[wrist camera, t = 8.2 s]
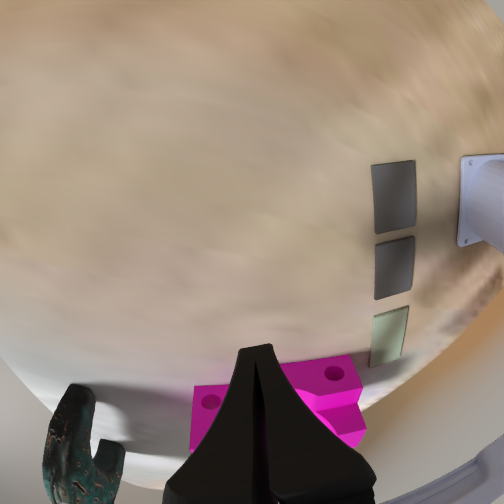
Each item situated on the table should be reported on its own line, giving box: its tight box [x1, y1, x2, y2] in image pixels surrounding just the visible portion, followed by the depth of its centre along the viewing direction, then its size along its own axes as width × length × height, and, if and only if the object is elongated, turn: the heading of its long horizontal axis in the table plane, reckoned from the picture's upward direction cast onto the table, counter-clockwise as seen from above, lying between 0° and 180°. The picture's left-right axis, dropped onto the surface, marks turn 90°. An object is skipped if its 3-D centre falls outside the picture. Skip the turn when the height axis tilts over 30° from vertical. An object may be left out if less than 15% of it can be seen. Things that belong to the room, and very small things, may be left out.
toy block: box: [189, 354, 367, 453], centre depth 23 cm, size 15×6×8 cm, turn 93°
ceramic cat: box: [42, 384, 126, 504], centre depth 21 cm, size 20×6×20 cm, turn 173°
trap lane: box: [369, 160, 416, 368], centre depth 23 cm, size 21×29×2 cm
